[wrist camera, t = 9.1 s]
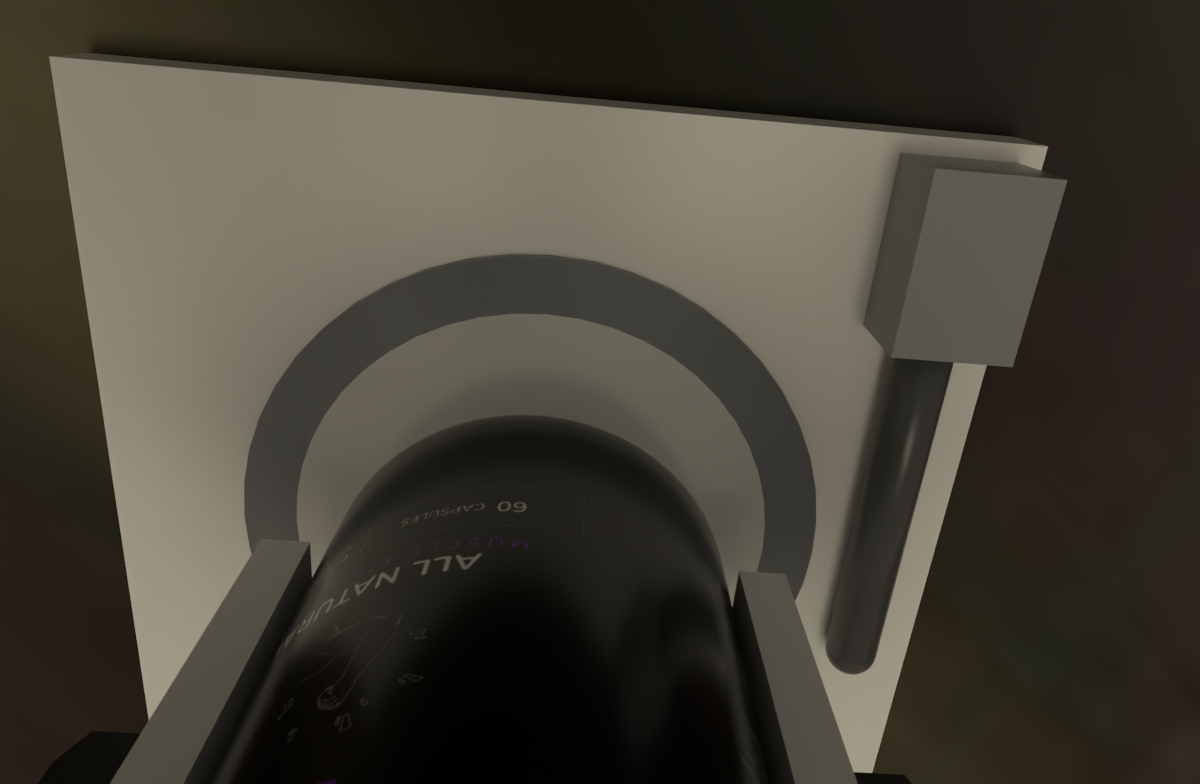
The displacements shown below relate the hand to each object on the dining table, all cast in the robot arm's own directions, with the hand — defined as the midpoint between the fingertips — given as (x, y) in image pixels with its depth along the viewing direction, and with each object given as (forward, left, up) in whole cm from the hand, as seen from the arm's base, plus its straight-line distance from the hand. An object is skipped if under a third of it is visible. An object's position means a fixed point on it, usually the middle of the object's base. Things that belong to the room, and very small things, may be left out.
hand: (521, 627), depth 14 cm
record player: (0, 0, -4) cm, 4 cm away
